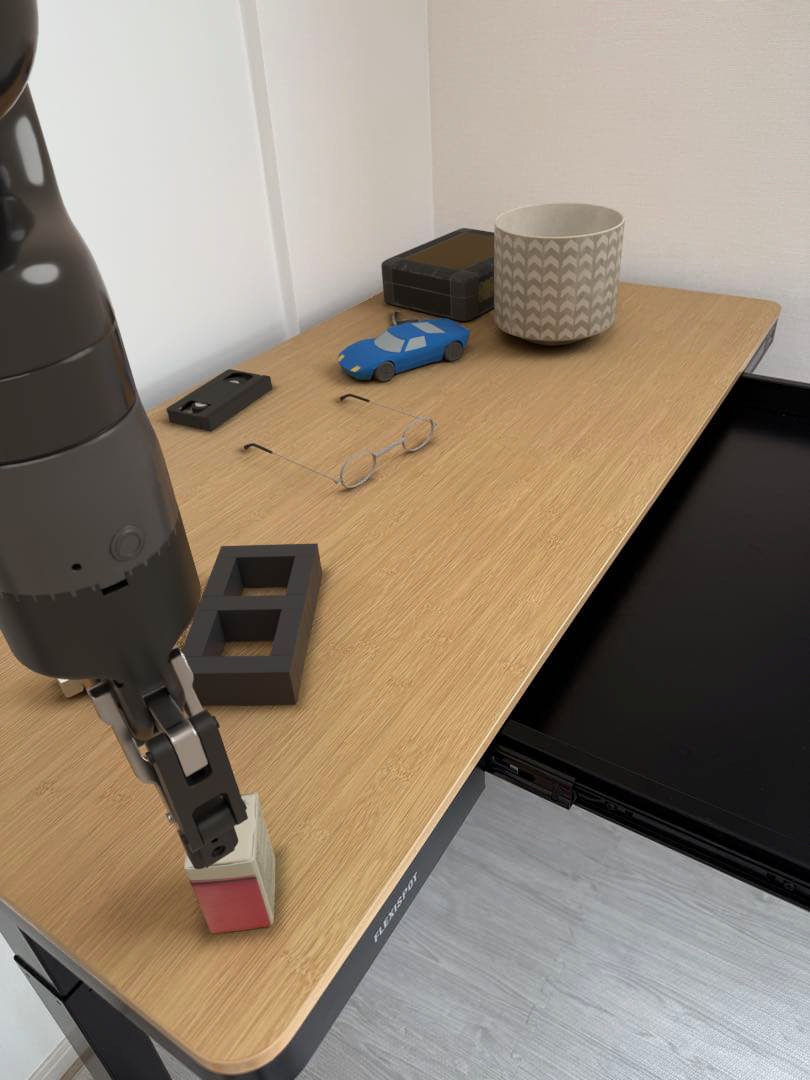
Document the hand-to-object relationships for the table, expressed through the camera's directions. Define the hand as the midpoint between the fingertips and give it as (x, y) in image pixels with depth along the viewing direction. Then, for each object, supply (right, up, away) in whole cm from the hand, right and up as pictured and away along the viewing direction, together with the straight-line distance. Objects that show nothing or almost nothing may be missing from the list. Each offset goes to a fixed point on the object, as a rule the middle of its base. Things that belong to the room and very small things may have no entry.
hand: (177, 792), depth 39 cm
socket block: (-3, +3, +36) cm, 37 cm away
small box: (0, -12, +15) cm, 19 cm away
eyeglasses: (+3, +25, +65) cm, 70 cm away
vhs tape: (-16, +32, +77) cm, 85 cm away
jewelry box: (+22, +58, +108) cm, 125 cm away
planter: (+35, +45, +89) cm, 106 cm away
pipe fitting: (-15, -1, +32) cm, 36 cm away
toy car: (+11, +40, +85) cm, 94 cm away
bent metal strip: (+11, +50, +98) cm, 111 cm away
